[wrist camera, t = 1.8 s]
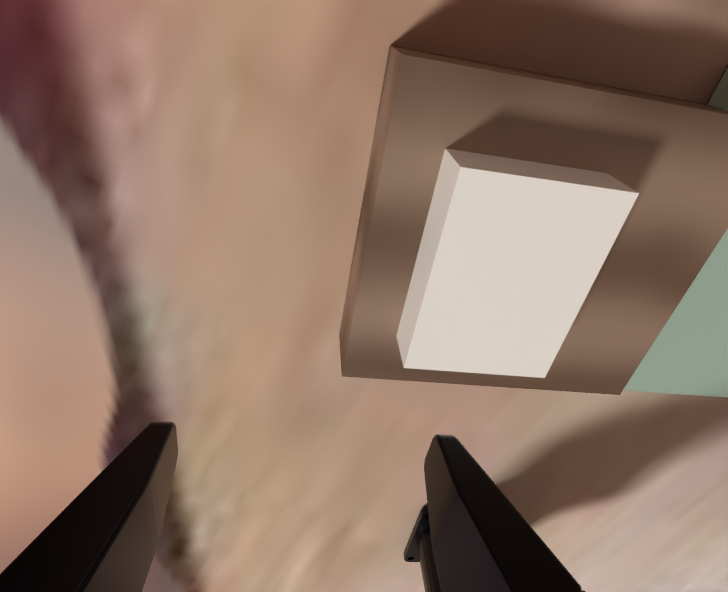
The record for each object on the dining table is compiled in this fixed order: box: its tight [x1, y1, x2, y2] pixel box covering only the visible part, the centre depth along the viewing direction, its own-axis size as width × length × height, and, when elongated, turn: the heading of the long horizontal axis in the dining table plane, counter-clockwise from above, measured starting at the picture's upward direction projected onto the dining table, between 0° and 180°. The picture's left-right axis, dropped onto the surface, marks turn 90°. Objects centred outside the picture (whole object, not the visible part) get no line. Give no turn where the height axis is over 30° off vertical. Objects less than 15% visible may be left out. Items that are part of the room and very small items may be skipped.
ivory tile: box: [396, 148, 639, 378], centre depth 17 cm, size 8×6×2 cm
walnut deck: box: [339, 46, 728, 395], centre depth 19 cm, size 13×14×3 cm
